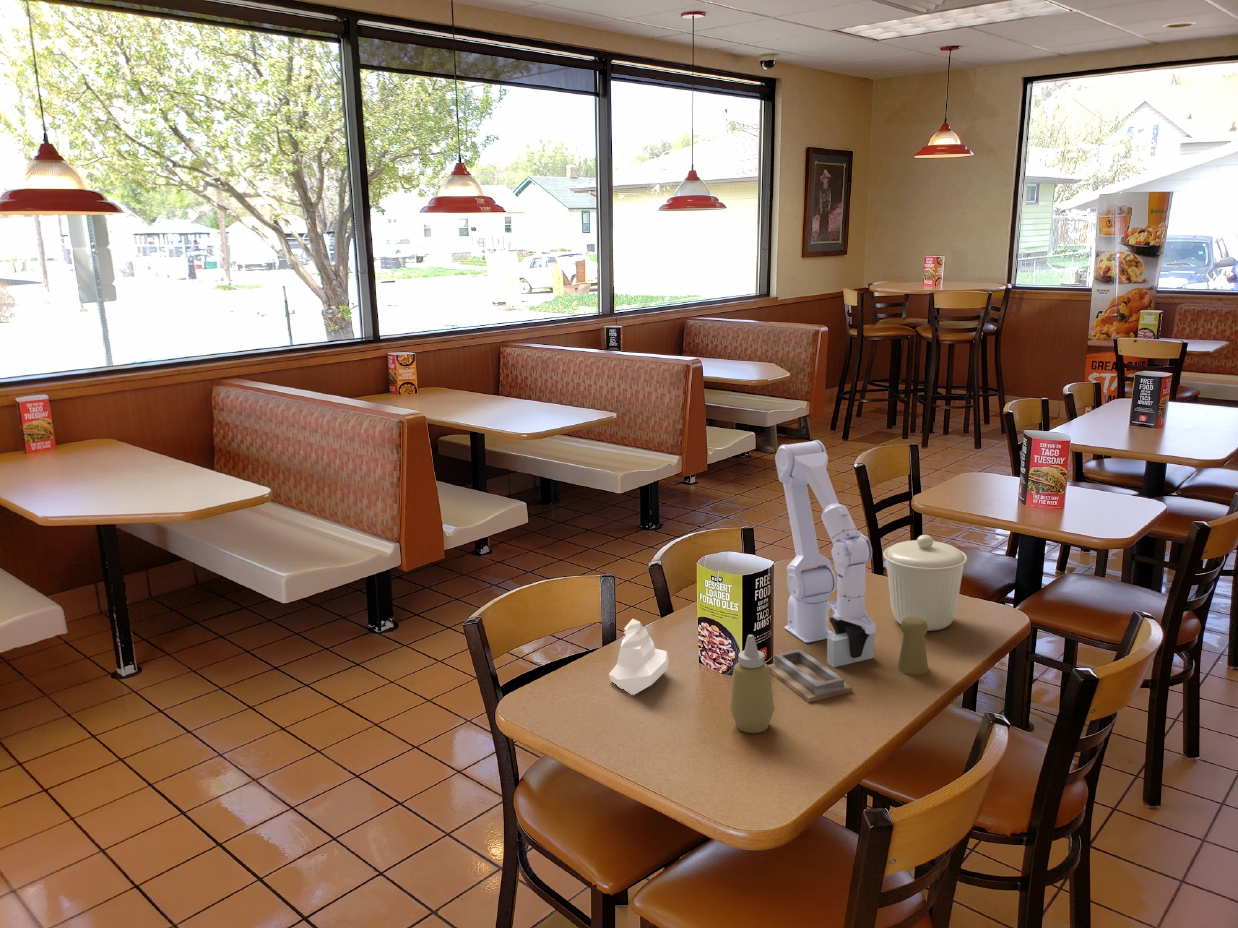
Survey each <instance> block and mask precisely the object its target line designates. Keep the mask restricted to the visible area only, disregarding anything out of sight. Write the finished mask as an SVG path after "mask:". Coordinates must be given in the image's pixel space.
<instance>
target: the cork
mask: <svg viewBox="0 0 1238 928" xmlns="http://www.w3.org/2000/svg"><path fill="white" fill-rule="evenodd" d="M900 629H901V632H902V633H903V635H902V640H901V648H900V652H899V653H900V654H899V659H898V663H897V664H898V665H897V669H898V671H900V672H902V673H903V674H905V675H911V676H921V675H925V674H927V673H928V672H929V664H928V655H927V647H926V637H925V635H926V634H927V632H928V631H927V623H926V621H925V620H924V619H922V618H919V617H907V618H904V619H903V621H902V623H901V624H900Z"/></svg>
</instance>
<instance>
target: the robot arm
mask: <svg viewBox="0 0 1238 928" xmlns="http://www.w3.org/2000/svg"><path fill="white" fill-rule="evenodd" d="M774 459H775V466H776V473H777V476H778V481H779V482H780V483H782V485H783V490H784V496H785V501H786V507H787V514H788V518H789V525H790V529H791V534H792V540H793V546H794V551H795V552H794V553H795V557H794V558H793V559H792V560H791V562H789V564H788V565H787V566H786V572H787V573H786V574H787V579H786V587H787V590H788V593H789V594H790V596H789V598H788V600H787V625H785V626H784V629H785V630H787V631H788V632H789V633H790V634H792V635H793V636H795V637H796V638H797V639H799V640H801V641H802V642H804V643H805V644H809V643H812V642H818V641H823V640H827V637H828V636H833V635H837V634H842V633H846V632H847V635H848V638H849V643H850V654H851V657H852V658H857V657H861V655H862V652H863V648H864V645H865V642H866V640H867V638H868V636H869V635H870V634H872V633H874V634H876V633H877V624H876V623H875V622H874V621H873V620H872V619H871V618H870V616H869V615H868V613H867V612H866V582H867V581H866V577H867V576H866V574H867V573H866V572H867V570H866V569H867V563H869V562H870V561H871V560H872V558H873V557H872V556H873V548H872V545H871V541H870V539H869V538H868V537H867V536H866V535H864V534H863V533H862V531H860V530H858V529H857V527H856V524H855V522H854V521H853V517H852V516H851V514H850V512H849V510H848V507H847V506H845V505H844V504H841V503H839V500H838V497H837V495H836V491H835V489H834V487H833V486H834V485H833V484H832V481H831V478H830V475H829V473H828V470H827V467H828V464H829V463H828V462H829V456H828V454H827V450H826V447H825V445H824V443H822V441H821V440H818V439H816V440H812V441H805V442H798V443H792V444H791V443H790V444H781V445H779V447H778V449H777V451H776V453H775V456H774ZM808 485H809V487H810V489H811V491H812V492H813V494H814V496H815V497H816V500H817V501H818V503H819V504H820V506H821V508H822V513H821V516H820V517H821V520H822V522H823V525H824V527H825V531H826V532H827V534H828V536H829V539H830V540H831V543H832V545H833V546H832V549H830V551H831V557H832V559H833V562H834V563H833V564H834V570H835V571H834V570H833V567H832V562H831V560H830V559H829V558H827V557H826V556H824V555H823V554H821V553H820V550H819V545H818V538H817V534H816V528H815V523H814V516H813V510H812V506H811V501H810V500H811V499H810V494H809V489H808ZM835 572H836V573H837V574H835ZM836 575H837V576H836ZM835 590H836V591H837V592H836V596H837V597H836V600H830V601H829V598H831V597H832V593H834V592H835ZM829 612H833V614H832V616H831V617H830V618H829ZM829 623H830V624H831V626H832V628H833V629H834V632H833V631H831V630H830V629H829Z"/></svg>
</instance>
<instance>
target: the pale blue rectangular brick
mask: <svg viewBox="0 0 1238 928" xmlns="http://www.w3.org/2000/svg"><path fill="white" fill-rule="evenodd" d="M874 658H875V633H872V634H870V635H869V636H868V638H867V640H866V642H865V645H864V648H863V652H862V655H861V657H857V658H852V657H851V654H850V643H849V638H848V635H847V632H846V633H842V634H837V635H833V636H828V637H827V639H826V663H827V664H828V665H829V666H831V667H832V668H837V667H840V666H845V665H850V664H854V663H857V662H862V661H866V660H870V659H874Z"/></svg>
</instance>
